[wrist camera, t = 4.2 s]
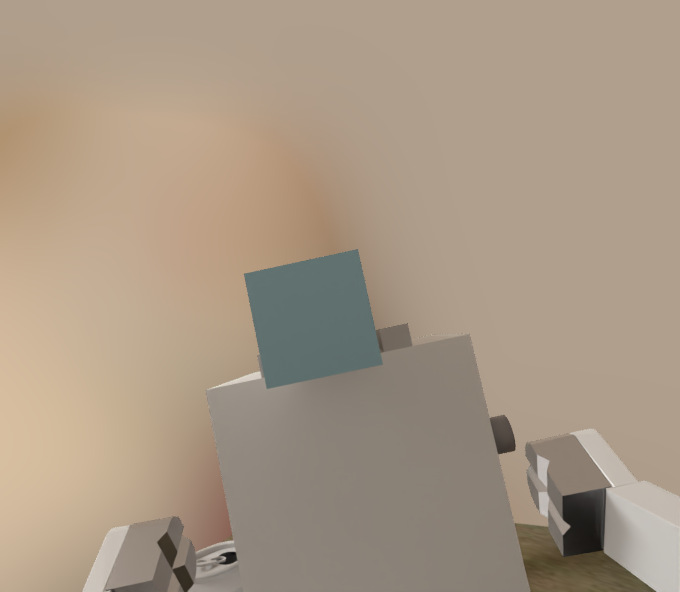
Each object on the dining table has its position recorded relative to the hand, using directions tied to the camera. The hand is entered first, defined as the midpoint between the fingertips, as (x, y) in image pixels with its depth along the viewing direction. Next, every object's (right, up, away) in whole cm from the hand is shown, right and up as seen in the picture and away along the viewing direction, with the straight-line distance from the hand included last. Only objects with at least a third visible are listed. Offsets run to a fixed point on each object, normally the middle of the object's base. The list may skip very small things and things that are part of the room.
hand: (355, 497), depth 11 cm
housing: (+5, -25, +18) cm, 31 cm away
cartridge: (0, +1, +16) cm, 16 cm away
